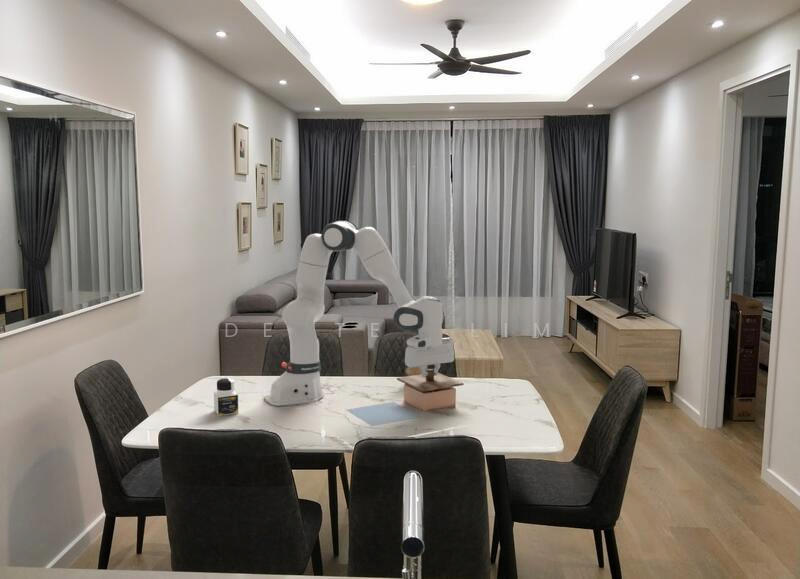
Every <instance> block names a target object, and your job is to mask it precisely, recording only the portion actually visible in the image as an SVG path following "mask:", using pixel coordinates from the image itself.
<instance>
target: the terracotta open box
mask: <svg viewBox="0 0 800 579" xmlns="http://www.w3.org/2000/svg"><path fill="white" fill-rule="evenodd" d="M403 387H404V388H403V401H404V402H405V403H407V404H409V405H410V406H411V405H412V406H413V407H415V408H417V409H419V410H421V411H423V412H427V411H433V410H438V409H443V408H448V409H452V408H455V407H456V402H457V399H456V398H457V389H456V388H455V387H449V388H442V389H436V390H430V391H424V392H422V391H420V390H418V389H416V388H414V387H411V386H409V385H407V384H405V383H404V386H403Z"/></svg>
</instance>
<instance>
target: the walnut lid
mask: <svg viewBox="0 0 800 579" xmlns="http://www.w3.org/2000/svg"><path fill="white" fill-rule="evenodd" d="M426 372H428V377H423V376H422V374H420V375H413V376H406V377H405V376H400V377H399V376H398V377H397V378H396V380H397V381H399V382H401V383H403V384H404V385H405V384H407V385H409V386H411V387H414V388H416V389H418V390H420V391H422V392H424V391H430V390H436V389H442V388H449V387H453V388H455V387H459V386H464V382H462V381H460V380H458V379H455V378H452V377H450V376H447V375H444V374H442V373H440V372H438V375H436V376H434V368H427V369H426Z"/></svg>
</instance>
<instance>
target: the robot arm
mask: <svg viewBox="0 0 800 579" xmlns="http://www.w3.org/2000/svg"><path fill="white" fill-rule="evenodd" d="M348 250H353V251H355V253H356V254H357V255H358V258H359V260H360V261H361V263H362V265H363V267H364V268H365V270H366V271H367V273H368V274H369V275H370V277H371V278H373V279H374V280H377V281H380V282H382V283H383V284H384V286H386V287H387V289H388V290H389V292H390V293H391V295H392V297H393V299H394V300H395V302H396V304H397V309H396V310H395V312H394V314H393V322H394V325H395V327H396V328H398V329H399V330H401V331H405V332H408V331H416V330H418V334H415V335H414V336H412V337H410V338H408V339H407V340H406V345H407V347H406V348H405V353H404V365H407V366H408V367H418V366H420V367H419V368H420V369H421V371H422V376H423V377H428V372H426V371H425V369H424V368H426V365H427V366H431V365H434V368H433V370H434V376H436V375H438V373H439V370H440V368H441V364H446V363H453V362H454V361H455V350H454V344H455V343H454V340H453V339H452V338H451V337H444V338H443V328H442V327H443V326H442V324H443V321H444V315H443V314H444V312H443V311H444V310H443V309H444V308H443V303H442V301H441V300H440V299H439V298H437V297H435V296H432V295H431V296H430V295H422V296H421V297H419V298H418V299H416V298H415V297H413V296H412V294H411V293H410V291H409V289H408V287H407V285H406V284H405V283H404V280H403V278H402V276H401V274H400V273H399V270H398V268H397V265H396V263H395V260H394V258H393V255H392V253H391V251H390V250H389V247H388V246H387V244H386V243H385V241H384V239H383V237H382V236H381V234H379V232H378V231H377V229H376V228H374V227H372V226H365V227H362V228H360V229H359V228H358V227H357V226H356V224H355V223H353V222H351V221H349V220H337V221H334V222H331V223H328V224H327V225H326V226H325V227H323V229H322V232H321V233H312V234H309V235H307V237H306V238H305V241H304V243H303V246H302V248H301V251H300V256H299V260H298V265H297V272H296V276H295V283H296V292H297V293H296V294H297V295H296V299H295V300H292V301H290V302H289V303H288V304H287V305H286V307H284V309H283V311H282V320H283V323H284V324H285V325H286V329H287V332H288V337H289V348H290V349H289V350H290V352H289V353H290V356H289V357H290V360H289V361H288V362H285V361H282V362H281V367H282V368H284V369H285V371H284V372H283V373H282V374H280V376H279V377H278V378H276V379H275V380H273V382H272V383H271V387H270V392H269V393H268V394H265V395H264V400H265V401H266V402H267V403H268V404H270V405H272V406H278V407H279V406H280V407H282V406H292V405H303V404H311V403H317V402H318V401H319V400H321V399H322V398H324V392H323V389H322V384H321V383H322V382H321V376H320V375H321V369H322V368H321V360H320V340H319V339H318V337H317V333H316V328H315V324H316V322H318V321H320V319H321V318H322V317H323V315H324V313H325V311H326V310H325V309H326V308H325V306H326V305H325V287H326V286H325V283H326V278H327V275H328V268H329V265H330V264H329V263H330V258H331V255H332V253H333V252H343V251H348Z"/></svg>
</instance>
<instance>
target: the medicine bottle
mask: <svg viewBox="0 0 800 579" xmlns="http://www.w3.org/2000/svg"><path fill="white" fill-rule="evenodd" d="M238 394H239V393H237V392H236V391H235V380H234V379H233V378H229V377H227V378H226V377H225V378H220V379H219V380H216V391H213V405H214V406H213V410H214V412H215V413H216V415H217V416H219V417H221V416H228V415H235V414H236V415H237V414H239V395H238Z"/></svg>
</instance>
